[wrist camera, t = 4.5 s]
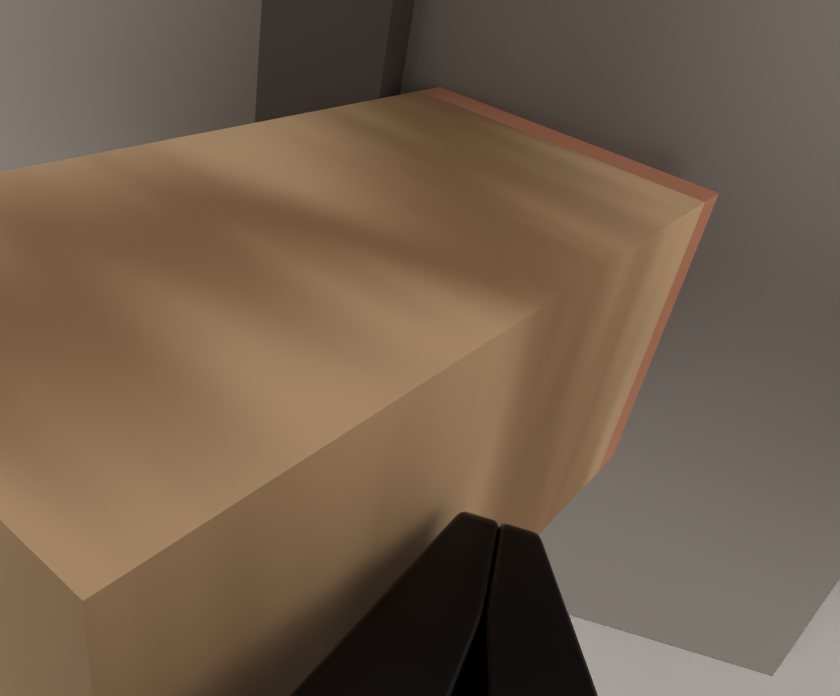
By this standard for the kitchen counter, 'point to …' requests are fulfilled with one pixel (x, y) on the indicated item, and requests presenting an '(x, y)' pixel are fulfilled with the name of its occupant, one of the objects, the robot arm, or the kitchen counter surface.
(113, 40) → the rubber mat
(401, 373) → the maple block
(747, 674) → the kitchen counter surface
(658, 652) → the kitchen counter surface
